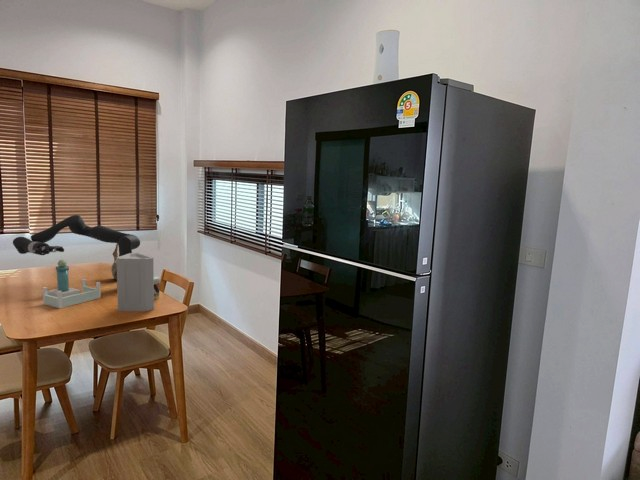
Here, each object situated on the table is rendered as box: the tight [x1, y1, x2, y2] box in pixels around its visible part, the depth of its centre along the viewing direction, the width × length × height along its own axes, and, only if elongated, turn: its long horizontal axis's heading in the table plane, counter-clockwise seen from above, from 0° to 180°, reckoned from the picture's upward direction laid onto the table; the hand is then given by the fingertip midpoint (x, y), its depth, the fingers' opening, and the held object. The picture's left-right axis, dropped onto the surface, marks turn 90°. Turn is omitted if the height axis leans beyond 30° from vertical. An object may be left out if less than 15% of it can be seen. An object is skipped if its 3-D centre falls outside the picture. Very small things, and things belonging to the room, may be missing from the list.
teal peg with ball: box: [55, 259, 70, 292], centre depth 239 cm, size 6×6×18 cm
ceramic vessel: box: [110, 243, 120, 281], centre depth 276 cm, size 16×9×25 cm, turn 44°
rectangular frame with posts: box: [42, 278, 101, 309], centre depth 228 cm, size 14×24×9 cm, turn 154°
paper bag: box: [116, 252, 155, 312], centre depth 220 cm, size 19×15×28 cm
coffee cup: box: [154, 275, 161, 300], centre depth 240 cm, size 9×9×12 cm
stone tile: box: [47, 286, 81, 298], centre depth 240 cm, size 12×12×2 cm
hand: (56, 251), depth 239 cm, fingers open, 8 cm apart
